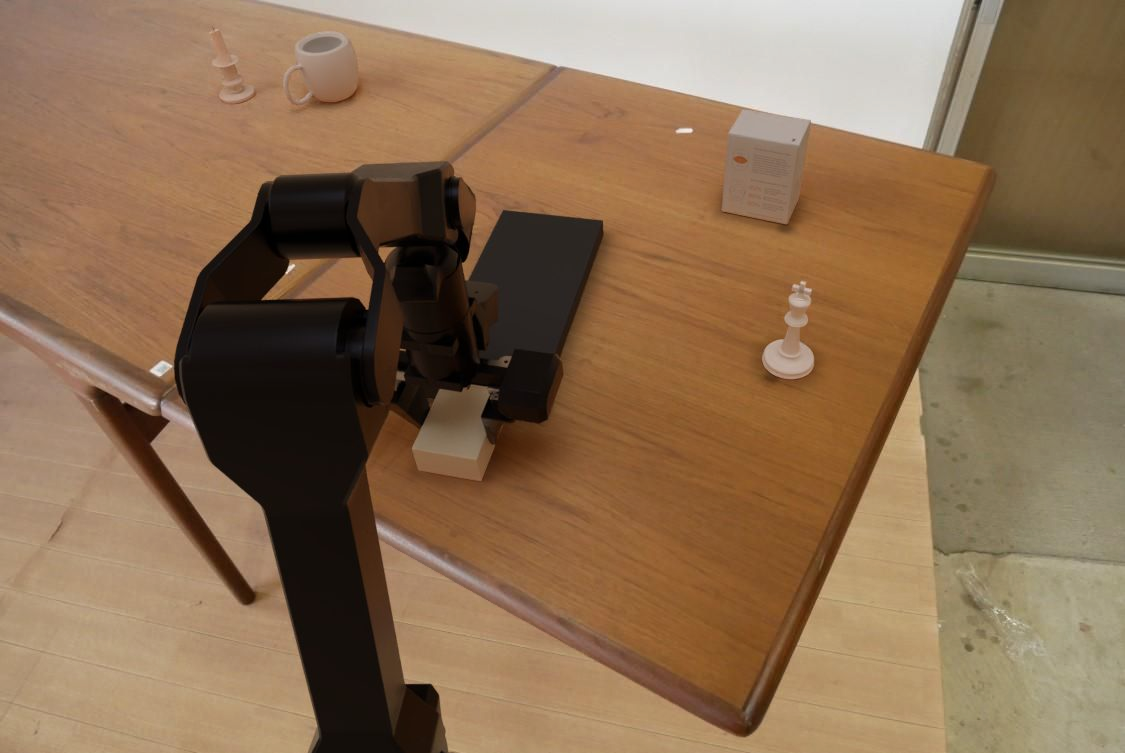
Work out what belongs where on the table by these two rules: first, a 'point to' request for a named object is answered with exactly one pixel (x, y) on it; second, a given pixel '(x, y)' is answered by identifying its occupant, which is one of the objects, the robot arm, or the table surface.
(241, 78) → the candle
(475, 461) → the beige stepped block
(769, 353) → the chess piece
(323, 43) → the mug
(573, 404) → the table surface
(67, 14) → the table surface
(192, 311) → the robot arm
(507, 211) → the socket pad
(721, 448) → the table surface
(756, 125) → the small box
